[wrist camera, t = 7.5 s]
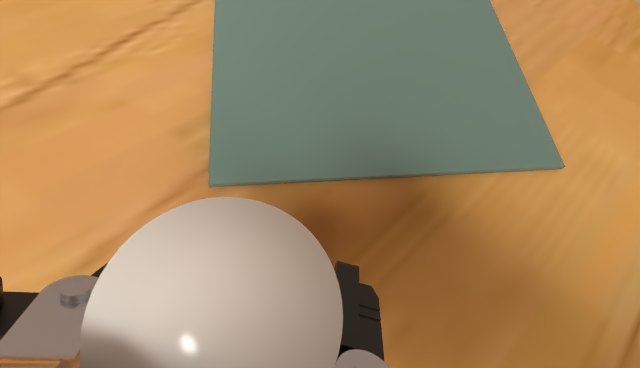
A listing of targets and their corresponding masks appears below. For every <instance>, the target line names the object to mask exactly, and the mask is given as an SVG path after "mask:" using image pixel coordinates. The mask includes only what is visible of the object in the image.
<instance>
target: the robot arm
mask: <svg viewBox="0 0 640 368" xmlns="http://www.w3.org/2000/svg"><path fill="white" fill-rule="evenodd" d="M107 264H108V263H107ZM107 264H105V265H104V266H103V267H102V268H100V269H99V270H98V271H96V272H95V273H94V274H92V275H91V276H85V275H81V276H72V277H67V278H63V279H60V280H58V281H55V282H53V283H51V284H50V285H48V286H47V287H45V288H44V289H43V290H42V291H41V292H40V293H29V292H3V285H2V278H1V277H0V368H80V336H81V327H82V323H83V318H84V314H85V310H86V307H87V304H88V301H89V298H90V296H91V293H92V290H93V288H94V286H95V284H96V282H97V280H98V278H99V276H100V275H101V273H102V271H103V270H104V268H105V267H106V265H107ZM334 270H335V273H336V277H337V280H338V283H339V287H340V292H341V298H342V308H343V327H342V338H341V343H340V349H339V354H338V357H337V360H336V364H335V367H334V368H389V367H388V365H387V364H386V363H385V362H384V353H383V342H382V331H381V323H380V320H381V319H380V312H379V311H380V308H379V298H378V296H377V295H376V293H375V291H374V290H373V288H372V287H371V286H368V285H365V284H361V283H359V267H357V266H354V265H350V264H346V263H343V262H339V261H337V262H336V265H335V268H334Z"/></svg>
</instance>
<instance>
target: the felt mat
mask: <svg viewBox="0 0 640 368" xmlns="http://www.w3.org/2000/svg"><path fill="white" fill-rule="evenodd" d="M564 167H565V166H564V163H563V161H562V159H561V157H560V155H559V152H558V150H557V148H556V146H555V144H554V141H553V139H552V137H551V135H550V133H549V130H548V128H547V126H546V124H545V121H544V119H543V117H542V115H541V113H540V110H539V108H538V106H537V104H536V102H535V99H534V97H533V95H532V93H531V91H530V88H529V86H528V84H527V82H526V80H525V77H524V75H523V73H522V71H521V68H520V66H519V64H518V62H517V60H516V57H515V55H514V53H513V51H512V49H511V46H510V44H509V42H508V40H507V38H506V35H505V33H504V31H503V29H502V27H501V24H500V22H499V20H498V18H497V15H496V13H495V11H494V9H493V7H492V4H491V2H490V0H215V16H214V44H213V73H212V101H211V130H210V158H209V186H210V187H218V186H238V185H257V184H277V183H296V182H316V181H336V180H355V179H375V178H395V177H414V176H434V175H453V174H473V173H493V172H512V171H532V170H551V169H562V168H564Z"/></svg>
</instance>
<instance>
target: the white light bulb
mask: <svg viewBox="0 0 640 368" xmlns="http://www.w3.org/2000/svg"><path fill="white" fill-rule="evenodd" d="M342 327H343V308H342V298H341V292H340V287H339V283H338V280H337V277H336V273H335V270H334V268H333V266H332V264H331V261H330V259H329V257H328V255H327V254H326V252H325V250H324V249H323V247H322V246H321V244H320V243H319V241H318V240H317V239H316V238H315V237H314V235H313V234H312V233H311V232H310V231H309V230H308V229H307V228H306V227H305V226H304V225H303V224H302V223H301V222H299V221H298V220H297V219H295V218H294V217H292V216H291V215H289V214H288V213H286V212H284V211H282V210H281V209H279V208H277V207H275V206H272V205H269V204H267V203H264V202H261V201H257V200H253V199H248V198H240V197H215V198H206V199H202V200H197V201H193V202H189V203H186V204H184V205H181V206H178V207H175V208H173V209H171V210H169V211H167V212H165V213H163V214H161V215H159V216H158V217H156V218H155V219H153V220H151V221H150V222H148V223H147V224H146V225H144V226H143V227H142V228H140V229H139V230H138V231H137V232H135V233H134V234H133V235H132V236H131V237H130V238H129V239H128V240H127V241H126V242H125V243H124V244H123V245H122V246H121V247H120V248H119V249H118V251H117V252H116V253H115V254H114V256H113V257H112V258H111V259H110V261H109V262H108V264H107V265H106V267H105V268H104V270H103V271H102V273H101V275H100V276H99V278H98V280H97V282H96V284H95V286H94V288H93V290H92V293H91V296H90V298H89V301H88V304H87V307H86V310H85V314H84V318H83V323H82V327H81V336H80V368H334V367H335V364H336V360H337V357H338V354H339V349H340V343H341V338H342Z"/></svg>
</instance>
